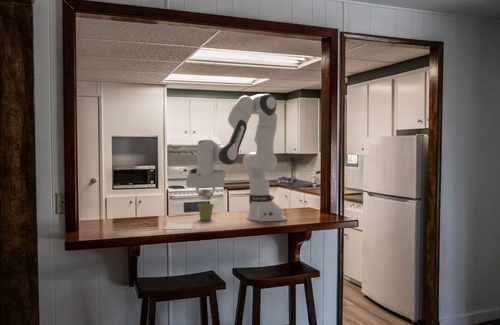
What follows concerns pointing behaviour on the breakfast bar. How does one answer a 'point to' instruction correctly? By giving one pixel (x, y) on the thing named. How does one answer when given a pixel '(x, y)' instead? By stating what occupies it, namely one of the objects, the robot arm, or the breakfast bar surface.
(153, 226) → the breakfast bar surface
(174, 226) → the sage mat
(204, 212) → the plant pot
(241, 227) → the breakfast bar surface
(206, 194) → the birch block
